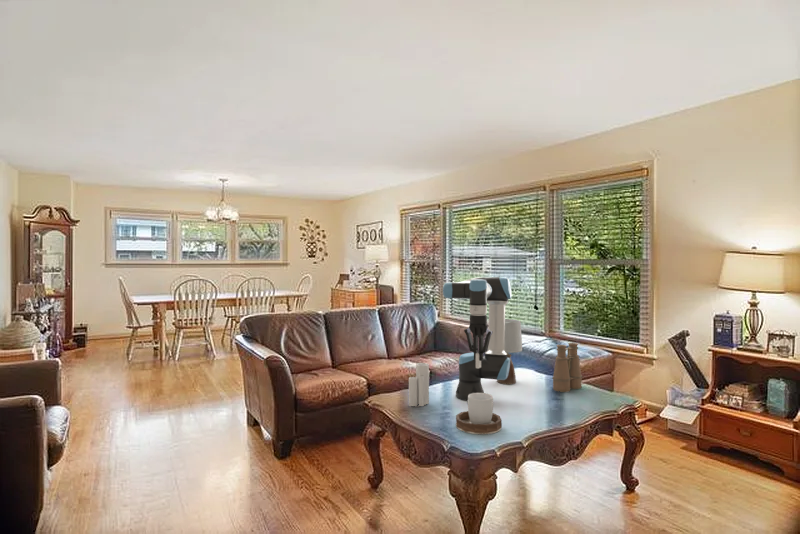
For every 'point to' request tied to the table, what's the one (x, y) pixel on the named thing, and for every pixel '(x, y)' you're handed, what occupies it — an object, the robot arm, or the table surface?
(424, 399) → the vase
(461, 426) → the holder
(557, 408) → the table surface
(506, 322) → the lamp
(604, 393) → the table surface
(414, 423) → the table surface
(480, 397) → the mug
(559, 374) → the binoculars
